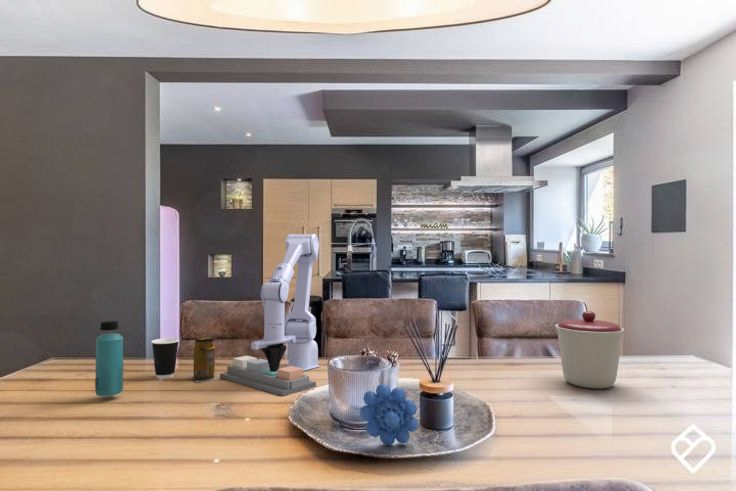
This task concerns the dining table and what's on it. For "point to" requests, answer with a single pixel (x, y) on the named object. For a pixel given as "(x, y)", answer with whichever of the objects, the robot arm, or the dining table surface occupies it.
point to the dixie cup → (165, 356)
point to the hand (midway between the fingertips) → (274, 370)
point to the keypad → (267, 381)
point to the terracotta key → (290, 373)
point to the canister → (589, 351)
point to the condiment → (204, 360)
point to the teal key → (270, 372)
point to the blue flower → (389, 414)
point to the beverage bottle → (109, 361)
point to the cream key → (242, 361)
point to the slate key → (258, 365)
